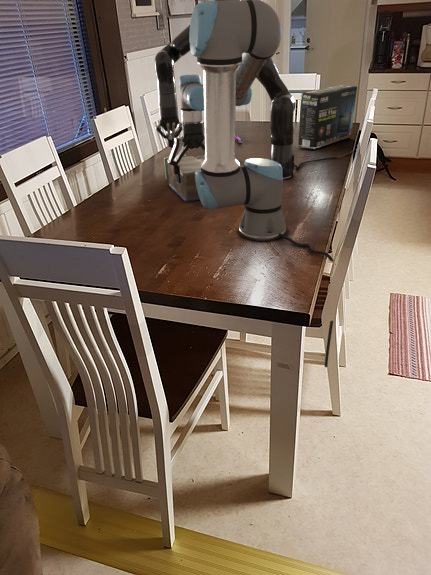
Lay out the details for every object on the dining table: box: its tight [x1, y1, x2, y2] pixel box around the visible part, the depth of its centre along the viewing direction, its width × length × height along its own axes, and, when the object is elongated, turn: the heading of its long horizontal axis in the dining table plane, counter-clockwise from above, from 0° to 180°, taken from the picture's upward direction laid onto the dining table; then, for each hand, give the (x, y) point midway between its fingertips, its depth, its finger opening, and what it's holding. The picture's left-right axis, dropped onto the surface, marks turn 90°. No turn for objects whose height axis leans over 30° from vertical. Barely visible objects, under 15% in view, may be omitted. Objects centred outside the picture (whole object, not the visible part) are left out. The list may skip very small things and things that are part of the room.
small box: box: [167, 155, 201, 203], centre depth 183 cm, size 21×11×11 cm, turn 22°
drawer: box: [163, 154, 188, 181], centre depth 192 cm, size 26×10×9 cm, turn 22°
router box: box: [297, 84, 358, 151], centre depth 238 cm, size 36×11×27 cm, turn 134°
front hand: (195, 179), depth 176 cm, fingers open, 13 cm apart
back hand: (171, 147), depth 197 cm, fingers closed
